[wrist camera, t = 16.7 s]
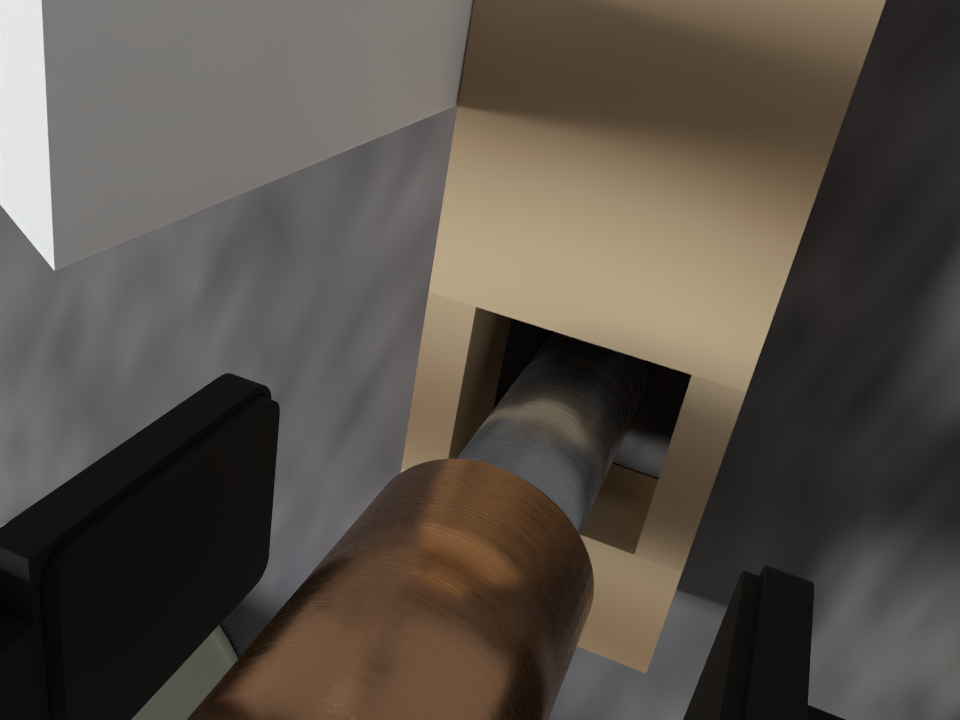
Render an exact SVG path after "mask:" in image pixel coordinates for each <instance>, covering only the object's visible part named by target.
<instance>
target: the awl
mask: <svg viewBox="0 0 960 720" xmlns="http://www.w3.org/2000/svg"><path fill="white" fill-rule="evenodd" d="M646 384H647V367H646V362H645V360H643V359H640V358H637V357H633V356H630V355H627V354H624V353H621V352H618V351H614V350H611V349H608V348H605V347H602V346H599V345H595V344H592V343H589V342H586V341H583V340H580V339H576V338H573V337H570V336H567V335H564V334H561V333H557V332H553V333H552V334H551V335H550V336H549V337H548V339H547V340H546V341H545V343H544V344H543V345H542V347H541V348H540V349H539V350H538V352H537V353H536V354H535V356H534V357H533V358H532V360H531V361H530V362H529V364H528V365H527V366H526V368H525V369H524V370H523V372H522V373H521V374H520V375H519V377H518V378H517V379H516V381H515V382H514V383H513V385H512V386H511V387H510V389H509V390H508V391H507V393H506V394H505V395H504V397H503V398H502V399H501V400H500V402H499V403H498V404H497V406H496V407H495V408H494V410H493V411H492V412H491V414H490V415H489V416H488V418H487V419H486V420H485V421H484V423H483V424H482V425H481V427H480V428H479V429H478V431H477V432H476V433H475V435H474V436H473V437H472V439H471V440H470V441H469V443H468V444H467V445H466V446H465V448H464V449H463V450H462V452H461V453H460V454H459V456H458V457H457V458H456V459H439V460H433V461H428V462H424V463H421V464H418V465H415V466H413V467H410V468H408V469H407V470H405V471H403V472H401V473H400V474H398V475H397V476H396V477H395V478H393V479H392V480H391V481H390V482H389V483H388V484H387V485H386V486H385V487H384V489H383V490H382V491H381V492H380V493H379V494H378V496H377V497H376V498H375V499H374V500H373V501H372V503H371V504H370V505H369V506H368V507H367V509H366V510H365V511H364V512H363V513H362V514H361V516H360V517H359V518H358V519H357V520H356V521H355V523H354V524H353V525H352V526H351V527H350V528H349V530H348V531H347V532H346V533H345V534H344V536H343V537H342V538H341V539H340V540H339V541H338V543H337V544H336V545H335V546H334V547H333V548H332V550H331V551H330V552H329V553H328V554H327V555H326V557H325V558H324V559H323V560H322V561H321V562H320V564H319V565H318V566H317V567H316V568H315V570H314V571H313V572H312V573H311V574H310V575H309V577H308V578H307V579H306V580H305V581H304V582H303V584H302V585H301V586H300V587H299V588H298V589H297V591H296V592H295V593H294V594H293V595H292V597H291V598H290V599H289V600H288V601H287V602H286V604H285V605H284V606H283V607H282V608H281V609H280V611H279V612H278V613H277V614H276V615H275V616H274V618H273V619H272V620H271V621H270V622H269V624H268V625H267V626H266V627H265V628H264V629H263V631H262V632H261V633H260V634H259V635H258V636H257V638H256V639H255V640H254V641H253V642H252V643H251V645H250V646H249V647H248V648H247V649H246V651H245V652H244V653H243V654H242V655H241V656H240V658H239V659H238V660H237V661H236V662H235V663H234V665H233V666H232V667H231V668H230V669H229V670H228V672H227V673H226V674H225V675H224V676H223V678H222V679H221V680H220V681H219V682H218V683H217V685H216V686H215V687H214V688H213V689H212V690H211V692H210V693H209V694H208V695H207V696H206V697H205V699H204V700H203V701H202V702H201V703H200V705H199V706H198V707H197V708H196V709H195V710H194V712H193V713H192V714H191V715H190V716H189V717H188V719H187V720H548V719H549V716H550V714H551V711H552V708H553V706H554V703H555V701H556V698H557V696H558V693H559V690H560V688H561V685H562V683H563V680H564V677H565V675H566V672H567V670H568V667H569V664H570V662H571V659H572V657H573V654H574V652H575V649H576V646H577V644H578V641H579V639H580V636H581V633H582V631H583V628H584V626H585V623H586V621H587V618H588V615H589V613H590V610H591V606H592V602H593V597H594V577H593V569H592V565H591V561H590V557H589V554H588V552H587V549H586V547H585V544H584V542H583V540H582V538H581V536H580V533H581V530H582V528H583V526H584V524H585V522H586V519H587V517H588V515H589V513H590V511H591V508H592V506H593V504H594V502H595V500H596V497H597V495H598V493H599V491H600V489H601V486H602V484H603V482H604V480H605V478H606V475H607V473H608V471H609V469H610V467H611V464H612V462H613V460H614V458H615V456H616V453H617V451H618V449H619V447H620V445H621V442H622V440H623V438H624V436H625V434H626V431H627V429H628V427H629V425H630V423H631V420H632V418H633V416H634V414H635V412H636V409H637V407H638V405H639V403H640V401H641V398H642V396H643V394H644V391H645V389H646Z"/></svg>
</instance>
